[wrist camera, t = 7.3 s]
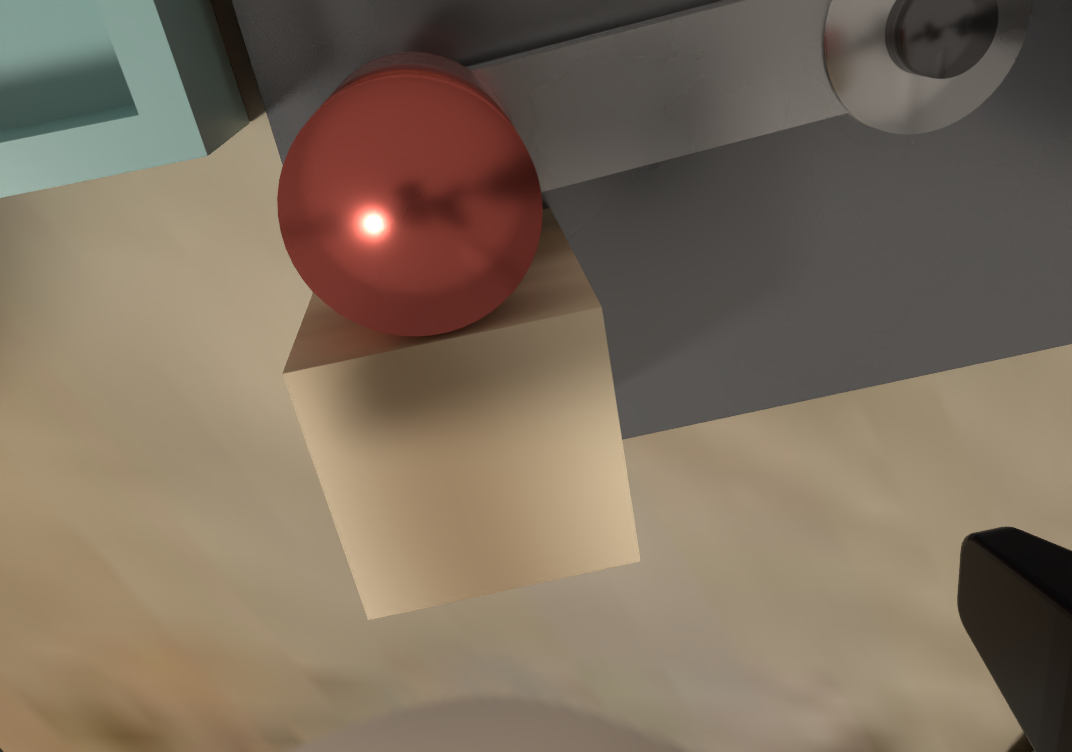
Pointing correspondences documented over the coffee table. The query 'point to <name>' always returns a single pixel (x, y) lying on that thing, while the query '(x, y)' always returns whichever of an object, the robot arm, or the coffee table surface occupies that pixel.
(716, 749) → the coffee table surface
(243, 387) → the coffee table surface
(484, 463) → the block
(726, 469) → the coffee table surface
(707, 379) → the bedplate
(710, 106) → the crank
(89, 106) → the tray
